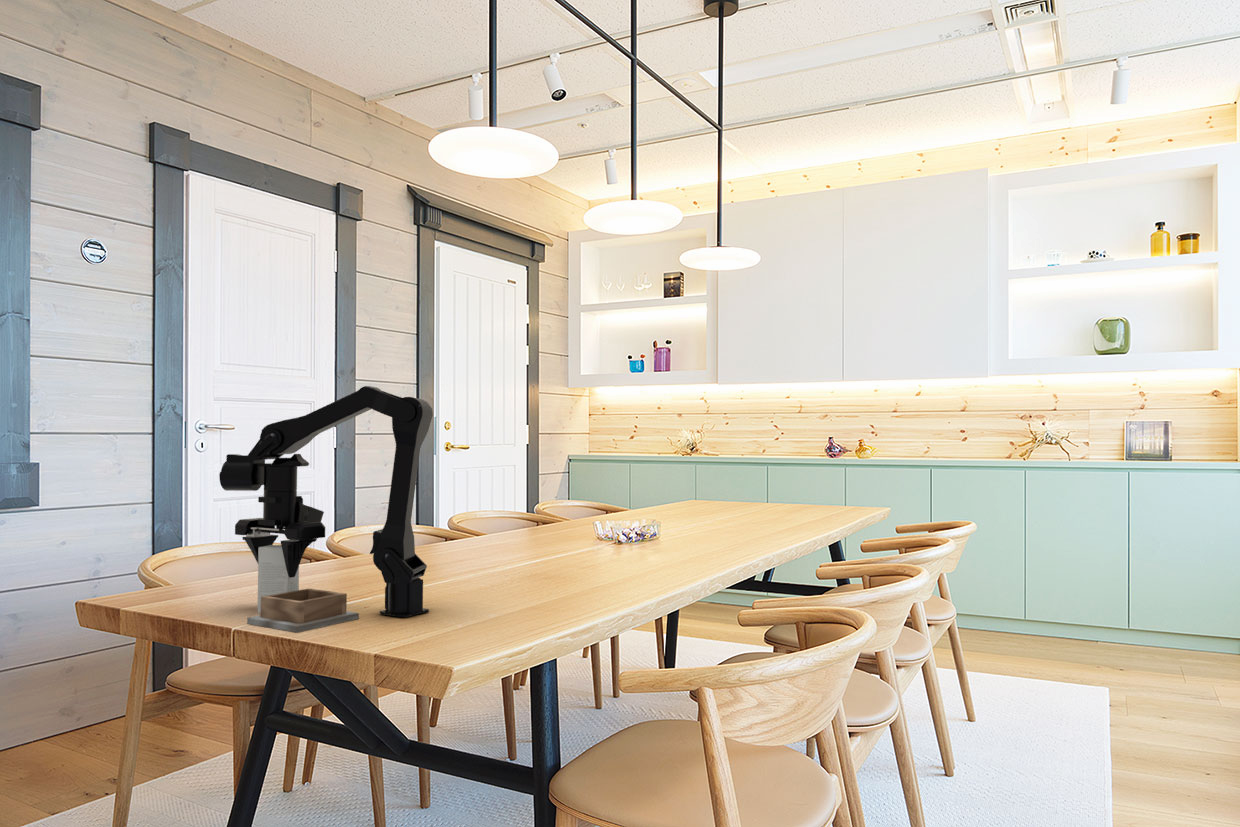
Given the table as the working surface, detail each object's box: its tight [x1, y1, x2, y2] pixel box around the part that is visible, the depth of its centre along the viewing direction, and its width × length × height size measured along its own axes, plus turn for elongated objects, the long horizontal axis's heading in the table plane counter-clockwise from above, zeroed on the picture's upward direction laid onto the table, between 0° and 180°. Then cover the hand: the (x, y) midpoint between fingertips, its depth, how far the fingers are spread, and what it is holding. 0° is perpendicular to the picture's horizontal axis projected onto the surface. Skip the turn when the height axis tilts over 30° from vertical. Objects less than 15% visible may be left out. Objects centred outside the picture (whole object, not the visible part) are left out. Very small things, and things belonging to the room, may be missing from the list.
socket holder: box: [246, 588, 360, 633], centre depth 145 cm, size 13×13×4 cm
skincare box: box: [257, 544, 300, 614], centre depth 154 cm, size 6×4×12 cm
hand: (278, 575), depth 154 cm, fingers closed on skincare box, 7 cm apart
